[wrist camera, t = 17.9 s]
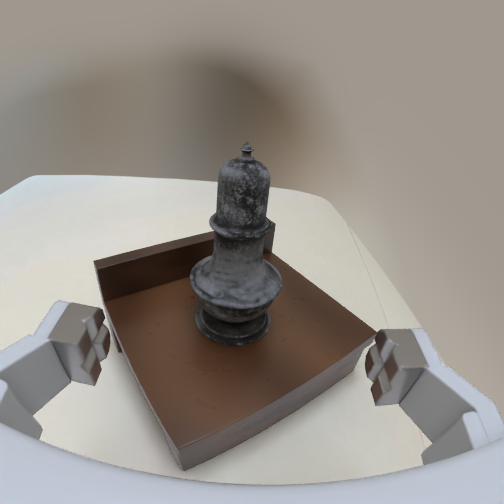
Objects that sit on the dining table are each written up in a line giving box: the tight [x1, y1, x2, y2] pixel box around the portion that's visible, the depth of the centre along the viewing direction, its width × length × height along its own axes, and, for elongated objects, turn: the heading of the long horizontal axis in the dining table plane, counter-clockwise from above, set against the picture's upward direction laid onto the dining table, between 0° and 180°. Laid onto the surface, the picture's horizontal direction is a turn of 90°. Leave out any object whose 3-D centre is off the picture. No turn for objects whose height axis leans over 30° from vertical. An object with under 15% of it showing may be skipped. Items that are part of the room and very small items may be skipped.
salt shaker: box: [190, 142, 282, 346], centre depth 18 cm, size 6×6×12 cm
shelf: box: [94, 221, 377, 471], centre depth 22 cm, size 16×14×8 cm
